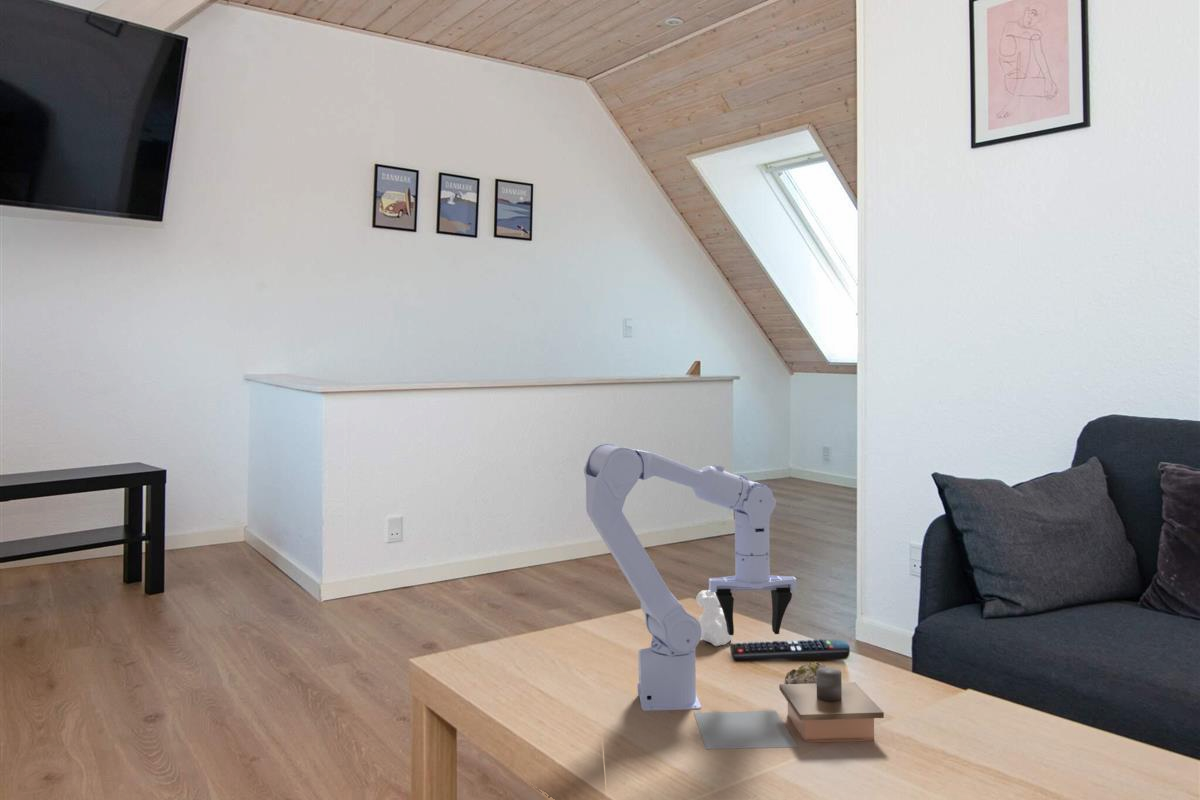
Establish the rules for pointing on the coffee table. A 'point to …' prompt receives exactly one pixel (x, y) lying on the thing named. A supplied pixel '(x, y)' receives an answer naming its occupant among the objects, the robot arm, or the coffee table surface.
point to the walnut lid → (830, 698)
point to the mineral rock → (804, 674)
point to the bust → (712, 619)
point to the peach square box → (833, 729)
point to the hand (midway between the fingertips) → (753, 632)
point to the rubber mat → (743, 730)
